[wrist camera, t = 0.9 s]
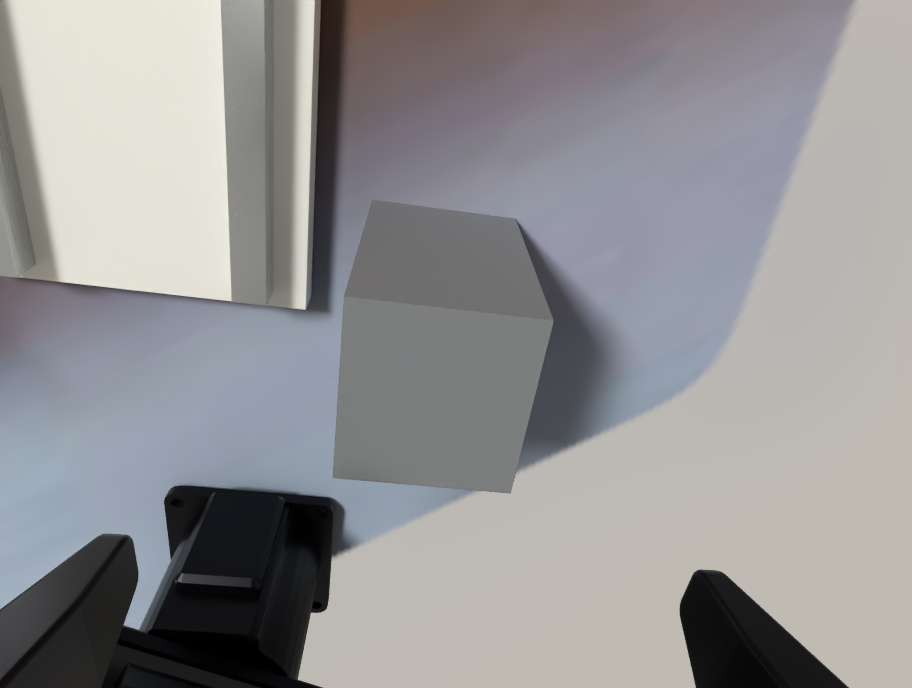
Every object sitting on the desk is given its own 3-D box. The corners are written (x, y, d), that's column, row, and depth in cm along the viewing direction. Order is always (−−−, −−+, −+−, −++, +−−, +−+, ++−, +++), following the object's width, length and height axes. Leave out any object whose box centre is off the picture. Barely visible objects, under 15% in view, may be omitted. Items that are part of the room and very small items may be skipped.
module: (488, 354, 22) (510, 493, 16) (361, 340, 21) (333, 477, 15) (515, 218, 19) (553, 320, 13) (372, 199, 19) (344, 296, 13)
